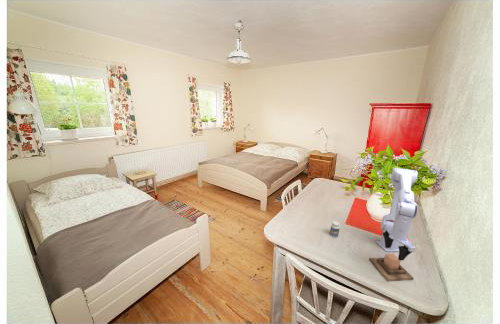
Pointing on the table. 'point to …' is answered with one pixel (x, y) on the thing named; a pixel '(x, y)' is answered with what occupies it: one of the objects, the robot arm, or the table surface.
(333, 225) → the pill bottle
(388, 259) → the terracotta block
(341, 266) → the table surface
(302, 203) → the table surface
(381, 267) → the display stand
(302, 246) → the table surface
